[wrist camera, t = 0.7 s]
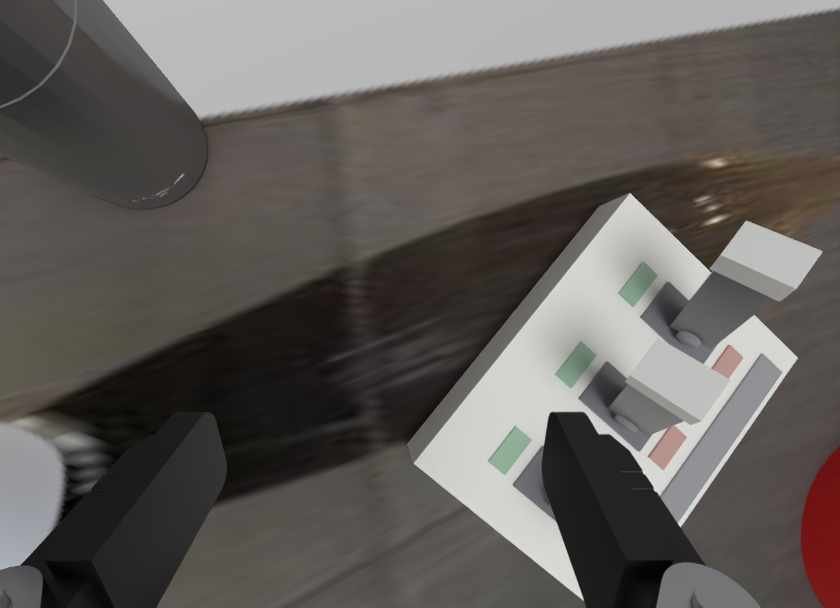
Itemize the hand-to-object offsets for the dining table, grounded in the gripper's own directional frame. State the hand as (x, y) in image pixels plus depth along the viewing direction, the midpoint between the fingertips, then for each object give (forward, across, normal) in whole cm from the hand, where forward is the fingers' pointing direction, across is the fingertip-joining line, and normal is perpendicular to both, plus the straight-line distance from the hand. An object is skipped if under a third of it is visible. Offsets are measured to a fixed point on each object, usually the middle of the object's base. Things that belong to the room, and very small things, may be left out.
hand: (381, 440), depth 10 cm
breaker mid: (+16, -16, +12) cm, 26 cm away
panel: (+21, -16, +14) cm, 30 cm away
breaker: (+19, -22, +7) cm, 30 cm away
